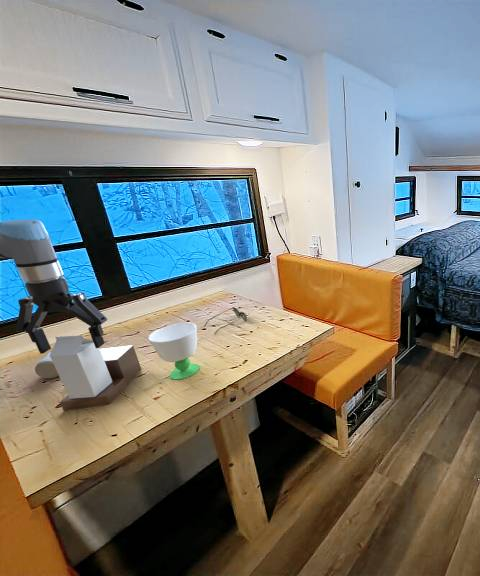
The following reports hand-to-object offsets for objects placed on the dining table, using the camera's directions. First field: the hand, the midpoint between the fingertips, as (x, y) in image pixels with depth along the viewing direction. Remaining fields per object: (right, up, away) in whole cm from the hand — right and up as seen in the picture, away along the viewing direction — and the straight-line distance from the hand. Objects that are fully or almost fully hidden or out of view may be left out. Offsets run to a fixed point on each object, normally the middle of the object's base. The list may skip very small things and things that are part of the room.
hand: (73, 348), depth 88 cm
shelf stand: (0, -15, +11) cm, 19 cm away
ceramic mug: (-24, -13, +20) cm, 33 cm away
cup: (+20, -12, +18) cm, 30 cm away
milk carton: (+1, -14, +5) cm, 15 cm away
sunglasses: (+17, 0, +52) cm, 55 cm away
